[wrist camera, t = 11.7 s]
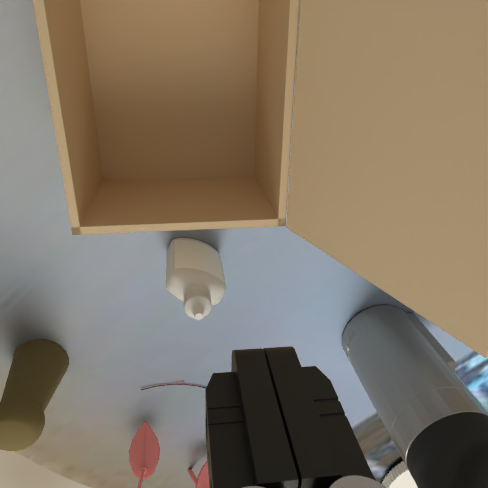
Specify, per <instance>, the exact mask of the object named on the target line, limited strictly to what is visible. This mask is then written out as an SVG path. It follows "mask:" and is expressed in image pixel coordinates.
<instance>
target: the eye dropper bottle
mask: <svg viewBox="0 0 488 488" xmlns="http://www.w3.org/2000/svg"><path fill="white" fill-rule="evenodd" d="M166 288H167V289H168V291H169V292H170V293H171V294H173V295H174V296H175V297H177V298H178V299H180V300H181V301H183V302H184V310H185V312H186V314H187V315H188V316H190V317H192V318H195V319H196V320H201V319H202V318H203V317H205V316H207V315H208V314H209V313H210V311H211V308H212V305H214V304H217V303H219V302H220V301H221V299H222V297H223V295H224V292H225V289H226V284H225V278H224V273H223V268H222V263H221V258H220V255H219V253H218V252H217V251H216V250H215V249H214V248H213V247H211V246H210V245H208V244H206V243H204V242H202V241H199V240H195V239H190V238H176V239H174V240H172V242H171V243H170V246H169V248H168V251H167V260H166Z"/></svg>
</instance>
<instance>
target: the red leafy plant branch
mask: <svg viewBox="0 0 488 488" xmlns="http://www.w3.org/2000/svg"><path fill="white" fill-rule="evenodd" d="M174 382H184V381H174ZM166 385H188V384H166ZM158 386H165V385H158ZM190 386H197V385H190ZM153 387H157V386H153ZM198 387H201V386H198ZM149 388H152V387H149ZM202 388H205V387H202ZM145 389H148V388H145ZM141 390H144V389H141ZM159 454H160V447H159V443H158V439H157V437H156V436H155V434H154V432H153V431H152V429H151V427H150V426H149V425H148V424H147V422H146V421H145V422H144V423H143V425H142V426H141V427H140V429H139V430H138V432H137V434H136V435H135V437H134V438H133V440H132V443H131V446H130V450H129V462H130V465H131V467H132V470H133V473H134V475H135V476H136V477H138V478H139V479H140V480H139V485H138V488H141V485H142V481H143V478H145V479H147V478H149V477H150V476H151V475H152V474H153V473H154V471H155V468H156V466H157V463H158V460H159ZM188 473H189V474H190V476H191V478H192V480H193V481H194V483H195V485H196V488H209V474H208V461H207V462H206V463H205V464H204V465H203V467H202V469H201V471H200V473H199V475H198V478H196V476H195V475H194V473H193V471H192V470H191V469H189V470H188Z"/></svg>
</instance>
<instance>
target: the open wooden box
mask: <svg viewBox="0 0 488 488" xmlns="http://www.w3.org/2000/svg"><path fill="white" fill-rule="evenodd" d="M33 5H34V11H35V17H36V22H37V28H38V34H39V40H40V46H41V52H42V58H43V64H44V70H45V75H46V81H47V87H48V93H49V99H50V105H51V111H52V117H53V123H54V128H55V134H56V140H57V146H58V152H59V158H60V164H61V170H62V176H63V181H64V187H65V193H66V199H67V205H68V211H69V217H70V223H71V229H72V234H73V235H82V234H105V233H129V232H153V231H176V230H200V229H224V228H247V227H271V226H285V225H286V209H287V193H288V176H289V160H290V144H291V128H292V112H293V96H294V80H295V64H296V48H297V32H298V16H299V0H33Z"/></svg>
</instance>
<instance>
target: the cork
mask: <svg viewBox="0 0 488 488" xmlns="http://www.w3.org/2000/svg"><path fill="white" fill-rule="evenodd" d="M68 365H69V357H68V355H67V353H66V351H65V350H64V349H63V348H62V347H61V346H59V345H58V344H56V343H54V342H51V341H47V340H32V341H28V342H26V343H24V344H22V345H20V347H19V348H18V349H17V350H16V352H15V354H14V357H13V361H12V364H11V368H10V371H9V375H8V378H7V382H6V385H5V389H4V392H3V396H2V399H1V402H0V449H1V450H6V451H18V450H22V449H25V448H27V447H29V446H31V445H32V444H33V443H34V442H35V441H36V440H37V439H38V438H39V437H40V435H41V433H42V431H43V428H44V425H45V416H44V411H45V409H46V407H47V405H48V403H49V401H50V399H51V398H52V396H53V394H54V392H55V390H56V388H57V387H58V385H59V383H60V381H61V379H62V377H63V376H64V374H65V372H66V370H67V368H68Z"/></svg>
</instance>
